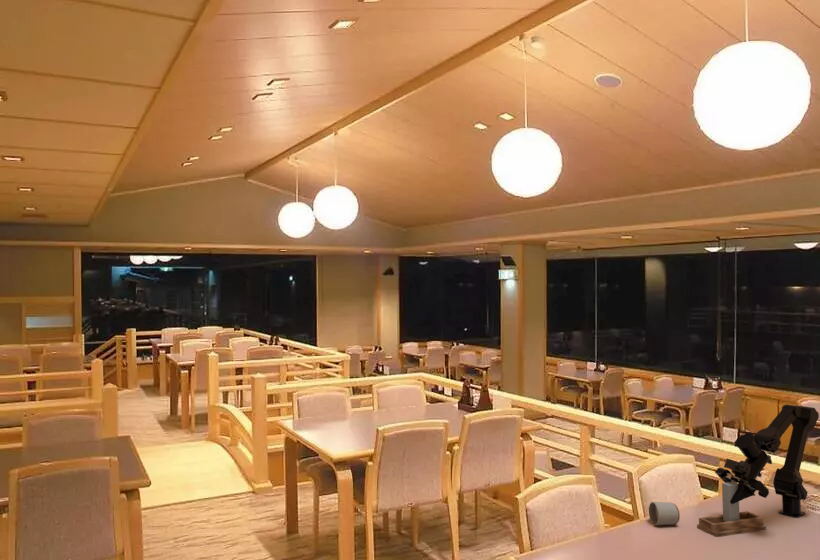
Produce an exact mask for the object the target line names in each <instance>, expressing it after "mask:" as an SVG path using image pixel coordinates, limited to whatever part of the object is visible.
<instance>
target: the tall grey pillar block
mask: <svg viewBox="0 0 820 560" xmlns="http://www.w3.org/2000/svg"><path fill="white" fill-rule="evenodd" d="M737 489H738V483H737V484H736V483H734V482H727V483H725V482H722V483H721V491H722V493H721V494H722V495H721V496H722V515H723V520H724V521H726V522H728V521H735V520H740V518H739V512H740V501H739V502H736V503H734V504H731V503H730V501H731V499H732V497H733V496H734V494H735V492H736V491H737Z"/></svg>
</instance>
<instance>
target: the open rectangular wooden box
mask: <svg viewBox="0 0 820 560" xmlns="http://www.w3.org/2000/svg"><path fill="white" fill-rule="evenodd" d="M739 518H740V520H735V521H728V522H726V521H724V520H723V514H717V515H713V516H712V515H711V516H705V517H699V518H698V523H697V524H696V528H697V529H700V530H702V531H704V532H706V533H708V534H710V535H711V536H714V537H716V538H719V537H725V536H731V535H738V534H745V533H753V532H759V531H760V532H761V531H765V530H767V526H766V525H764V524H765V522H764V521H765V520H764V517H762V516H760V515H757V514H754V512H750V511H747V510H745V511H739Z"/></svg>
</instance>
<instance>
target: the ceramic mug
mask: <svg viewBox="0 0 820 560" xmlns="http://www.w3.org/2000/svg"><path fill="white" fill-rule="evenodd" d="M648 515H649V520H650V522H651V524H652V525H653V526H673V525H676V524H679V521H680V516H681V515H680V510H679V507H678V506H677V504H675V503H673V502H671V501H670V502H669V501H667V502H666V501H664V502H663V501H652V502H651V501H650V503H649V506H648Z"/></svg>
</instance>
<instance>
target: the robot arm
mask: <svg viewBox="0 0 820 560" xmlns="http://www.w3.org/2000/svg"><path fill="white" fill-rule="evenodd" d="M819 417H820V413H819V412H818V411H817V409H816V408H815V407H812V406H811V407H810V406H804V405H798V404H797V405H795V404H794V405H793V404H783V406H782V407H781V410H780V411H779V412H778V414H777V415H776V416H775V417H774V419H773V420H772V421H771V422H770V424H769V425H768V426H766V427H765V428H762V429H760V430H758V431H757V432H756V433H755V434H753V433H752V432H749V431H746V432H745V434H742V435H740V436H738V437H736V438H735V439H736V440H735V445H736V447H737V448H738V449H739V451H740V452H741V453H742V454H743V456H744V457H745V459H744V460H740V461H737V460H733V459H730V458H726V460H725V462H724V464H723V465H724V466H723V467H718V468H717V469H716V470H715V471H714V473H715V474H716V475H717V476H718V478H719V479H720V480H722V482H723V483H727V482H734V483H736V484H738V489H737V491H736V492H735V494H734V496H733V497H732V499H731V501H730V503H731V504H734V503H736V502H739V503H740V501H743V500H745V499H747V498H750V497H755V496H756V494H755V493H756V492H757V494H758V496H759V497H762V498H765V499H766V498H767V497H768V496H769V495H770V489H769V488H768V487H767V486H766V485H765V484H764V483H763V482H762V481H761V480H758V479H757V478H761V477H762V475H763V474H762V473H761V472H762V471H763V470H764V468H765V466H766V465H767V464H769V465H772V464H773V461H772V456H771V455H769V454H767V453H766V452H768V453H773V454H774V453H776V452H777V451H778V449H779V448H780V446H781V444H782V441H781V438H782V437H783V435H784V434H785V433H786V431H787V430H788V429H789V427H790V426H791V425H792V430H791V436H790V439H789V444H788V447H787V452H786V455H785V460H784V464H783V465H782V467H780V468H777V469H776V470H775V473H774V474H775V475H774V477H773V482H772V484H773V488H774V493H775V495H778V496H781V500H782V501H781V502H782V503H781V504H782V506H781V507H782V509H780V510H778V511H777V512H778V514H782V515H786V516H788V517H794V518H800V517H801V516H803V515H806V512H805V511H802V504H801V503H802V502H801V501H805V500H806V499H807V498H808V494H809V493H808V491H807V489H806V488H805V487H804V485H803V477H802V474H801V472H800V469H801V464H802V460H803V458H804V457H803V456H804V452H805V448H806V444H807V439H808V436H809V432H811V431H812V430H813V429H814V428H815V427H816V425H817V423H818V420H819Z"/></svg>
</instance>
